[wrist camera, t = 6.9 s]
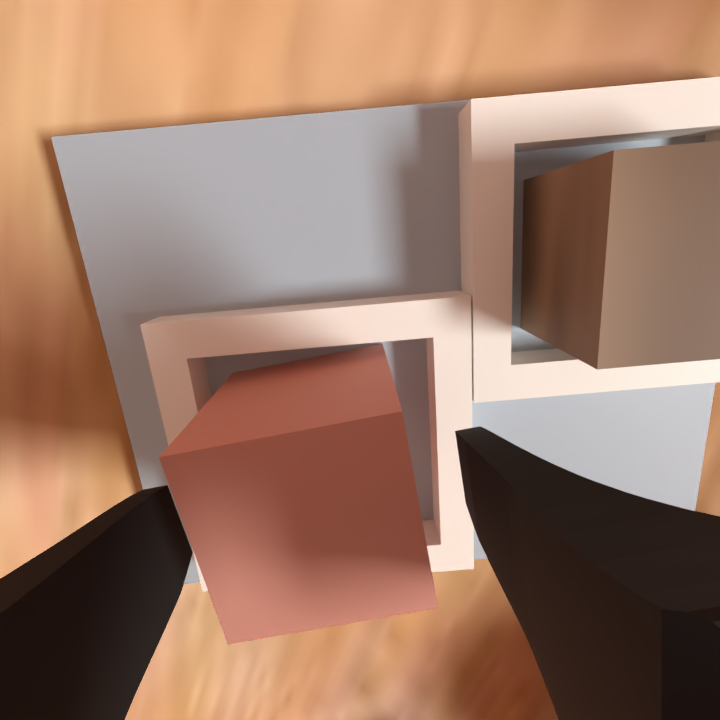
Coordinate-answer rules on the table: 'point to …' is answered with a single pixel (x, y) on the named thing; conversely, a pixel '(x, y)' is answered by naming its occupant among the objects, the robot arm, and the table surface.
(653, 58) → the table surface
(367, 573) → the brick-red block
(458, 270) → the board
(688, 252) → the walnut cube
